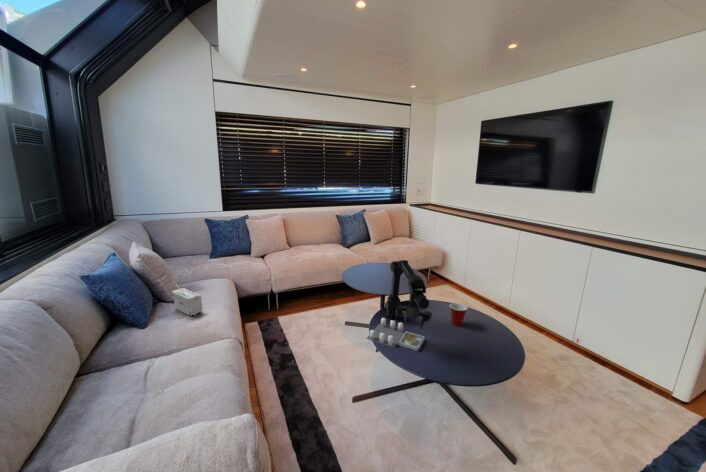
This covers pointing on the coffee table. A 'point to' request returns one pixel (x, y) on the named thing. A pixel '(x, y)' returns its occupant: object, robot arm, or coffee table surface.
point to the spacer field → (387, 333)
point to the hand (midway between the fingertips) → (412, 326)
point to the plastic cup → (457, 313)
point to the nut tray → (414, 346)
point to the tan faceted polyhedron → (411, 339)
